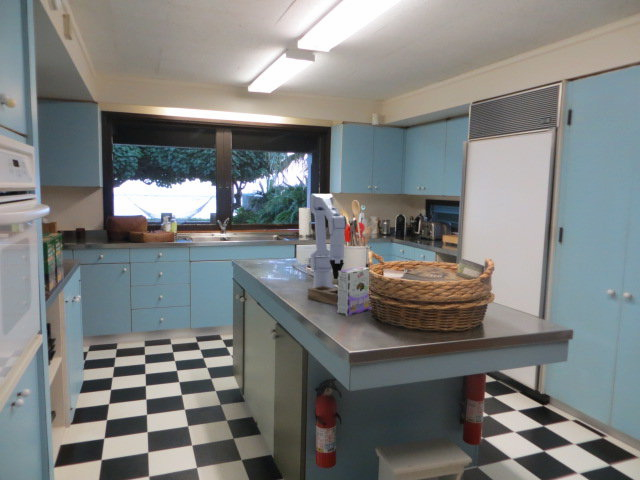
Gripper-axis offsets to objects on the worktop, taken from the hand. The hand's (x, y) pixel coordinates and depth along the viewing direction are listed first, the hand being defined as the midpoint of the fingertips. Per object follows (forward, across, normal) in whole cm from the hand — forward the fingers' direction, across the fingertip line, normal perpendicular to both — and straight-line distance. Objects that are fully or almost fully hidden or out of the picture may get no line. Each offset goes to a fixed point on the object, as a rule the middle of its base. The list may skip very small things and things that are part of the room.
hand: (336, 277), depth 190 cm
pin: (+2, 0, 0) cm, 3 cm away
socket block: (+10, -3, -3) cm, 11 cm away
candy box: (+10, +15, +6) cm, 19 cm away
